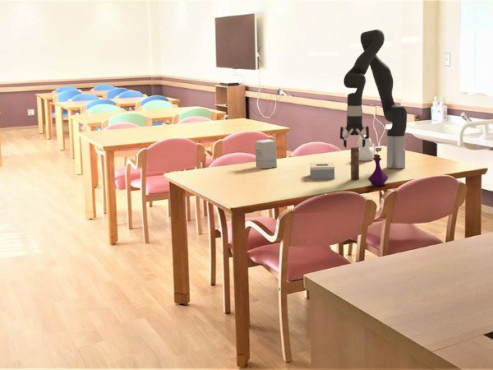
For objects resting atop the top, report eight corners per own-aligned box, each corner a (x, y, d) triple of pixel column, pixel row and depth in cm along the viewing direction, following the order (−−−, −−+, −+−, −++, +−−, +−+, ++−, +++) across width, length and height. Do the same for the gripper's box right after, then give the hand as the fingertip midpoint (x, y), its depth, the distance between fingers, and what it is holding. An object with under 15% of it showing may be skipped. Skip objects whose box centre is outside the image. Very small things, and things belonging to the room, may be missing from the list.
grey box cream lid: (333, 174, 372) (333, 162, 371) (334, 178, 360) (334, 166, 359) (310, 174, 373) (310, 163, 372) (310, 179, 361) (310, 167, 360)
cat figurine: (353, 160, 409) (353, 134, 406) (368, 157, 417) (368, 132, 413) (365, 162, 402) (364, 136, 399) (380, 159, 410) (380, 133, 406)
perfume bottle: (382, 187, 338) (382, 149, 334) (367, 185, 342) (367, 148, 338) (388, 184, 344) (388, 147, 341) (373, 182, 348) (373, 146, 345)
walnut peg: (358, 178, 359) (358, 147, 356) (359, 180, 356) (359, 148, 352) (350, 178, 360) (350, 147, 356) (351, 180, 356) (351, 148, 353)
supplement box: (269, 165, 404) (269, 138, 401) (277, 167, 396) (276, 140, 393) (255, 167, 400) (254, 140, 397) (262, 169, 392) (261, 142, 389)
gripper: (368, 113, 354) (368, 146, 358) (339, 114, 355) (339, 146, 359) (369, 115, 347) (369, 148, 350) (340, 115, 348) (340, 148, 351)
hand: (354, 147), depth 354 cm, fingers open, 8 cm apart
